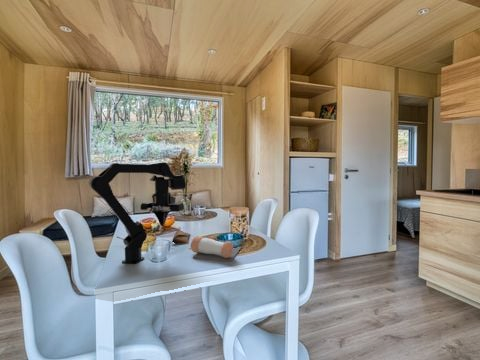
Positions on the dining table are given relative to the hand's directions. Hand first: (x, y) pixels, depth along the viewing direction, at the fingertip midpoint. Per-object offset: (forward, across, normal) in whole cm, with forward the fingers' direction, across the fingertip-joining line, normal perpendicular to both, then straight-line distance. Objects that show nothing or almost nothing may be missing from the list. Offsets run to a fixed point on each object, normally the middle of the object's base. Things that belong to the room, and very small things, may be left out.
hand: (162, 225), depth 115 cm
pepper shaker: (+9, -13, -5) cm, 17 cm away
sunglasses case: (+14, +3, -23) cm, 27 cm away
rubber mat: (+13, -24, -8) cm, 28 cm away
